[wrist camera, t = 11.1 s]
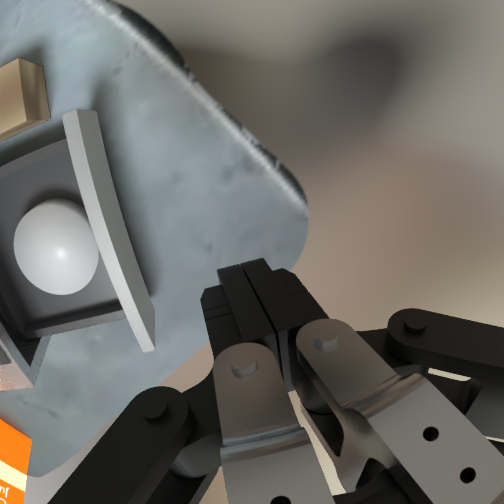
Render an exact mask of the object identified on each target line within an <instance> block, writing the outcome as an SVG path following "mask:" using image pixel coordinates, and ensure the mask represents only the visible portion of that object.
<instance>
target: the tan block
mask: <svg viewBox="0 0 504 504" xmlns="http://www.w3.org/2000/svg"><path fill="white" fill-rule="evenodd" d="M50 119H51V117H50V112H49V106H48V100H47V94H46V87H45V80H44V72H43V66H40V65H37V64H35V63H32V62H29V61H26V60H23V59H20V58H17V59H16V60H14V61H12V62H10V63H8V64H6V65H4V66H3V67H1V68H0V141H3V140H6V139H8V138H10V137H12V136H15V135H17V134H19V133H21V132H23V131H25V130H27V129H29V128H32V127H34V126H36V125H38V124H41V123H43V122H45V121H48V120H50Z"/></svg>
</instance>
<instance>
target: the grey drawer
mask: <svg viewBox="0 0 504 504" xmlns="http://www.w3.org/2000/svg"><path fill="white" fill-rule="evenodd" d="M62 118H63V123H64V128H65V133H66V138H65V139H63V140H60V141H57V142H55V143H52V144H50V145H47V146H45V147H43V148H40V149H38V150H35V151H33V152H31V153H29V154H26V155H24V156H22V157H20V158H17V159H15V160H13V161H11V162H9V163H7V164H5V165H3V166H1V167H0V308H1V309H2V311H3V313H4V315H5V316H6V318H7V320H8V322H9V323H10V325H11V327H12V328H13V330H14V332H15V333H16V335H17V337H18V338H19V340H20V341H24V340H29V339H34V338H39V337H44V336H49V335H53V334H58V333H63V332H67V331H72V330H76V329H81V328H85V327H90V326H94V325H98V324H103V323H107V322H111V321H116V320H120V319H124V318H127V319H128V321H129V323H130V325H131V327H132V329H133V332H134V334H135V336H136V338H137V340H138V342H139V344H140V346H141V348H142V350H143V352H144V353H145V352H149V351H154V350H155V309H154V307H153V304H152V301H151V299H150V296H149V294H148V291H147V288H146V286H145V283H144V280H143V277H142V274H141V272H140V269H139V266H138V263H137V260H136V257H135V254H134V251H133V248H132V245H131V242H130V239H129V236H128V233H127V230H126V226H125V223H124V220H123V216H122V213H121V210H120V206H119V203H118V199H117V196H116V192H115V188H114V185H113V181H112V177H111V173H110V169H109V165H108V161H107V157H106V153H105V148H104V144H103V139H102V135H101V130H100V125H99V120H98V115H97V111H91V110H79V109H76V110H73V111H70V112H68V113H65V114H63V115H62ZM53 198H63V199H68V200H71V201H73V202H75V203H77V204H79V205H81V206H82V207H83V208H84V209H86V212H87V215H88V219H89V222H90V225H91V228H92V231H93V234H94V236H95V239H96V242H97V245H98V248H99V250H100V253H101V257H100V260H99V262H98V265H97V268H96V270H95V273H94V275H93V277H92V279H91V280H90V282H89V283H88V284H87V285H86V286H85V287H84V288H82V289H81V290H79V291H77V292H75V293H72V294H67V295H56V294H51V293H48V292H45V291H43V290H41V289H39V288H38V287H36V286H35V285H34V284H32V283H31V282H30V281H29V280H28V279H27V278H26V276H25V275H24V274H23V272H22V271H21V269H20V267H19V265H18V263H17V260H16V257H15V253H14V236H15V231H16V228H17V226H18V224H19V222H20V221H21V219H22V218H23V217H24V216H25V215H26V214H27V213H28V212H29V211H30V210H32V209H33V208H34V207H35V206H36V205H38V204H39V203H41V202H43V201H45V200H48V199H53Z"/></svg>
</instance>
